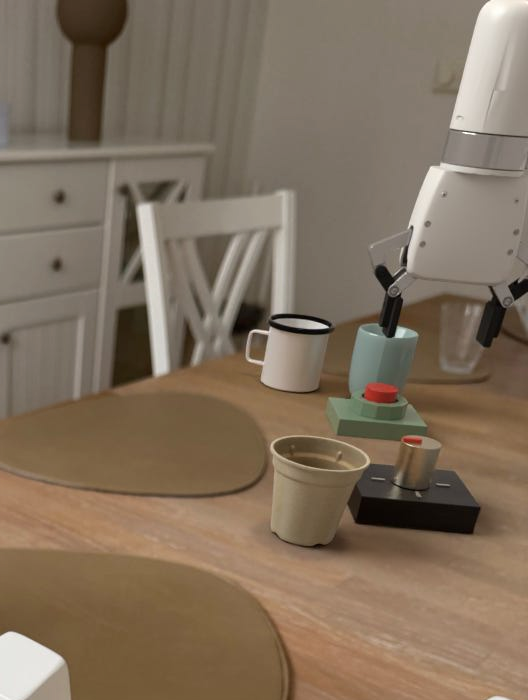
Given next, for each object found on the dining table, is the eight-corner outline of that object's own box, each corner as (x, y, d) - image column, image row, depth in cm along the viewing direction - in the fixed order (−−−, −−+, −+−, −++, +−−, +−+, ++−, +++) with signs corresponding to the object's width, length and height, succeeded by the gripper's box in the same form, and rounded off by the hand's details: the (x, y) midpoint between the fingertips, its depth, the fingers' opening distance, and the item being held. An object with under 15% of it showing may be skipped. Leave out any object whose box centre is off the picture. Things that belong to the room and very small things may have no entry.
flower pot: (338, 517, 102) (357, 438, 97) (360, 558, 94) (382, 474, 89) (248, 511, 102) (263, 431, 97) (262, 551, 94) (279, 466, 89)
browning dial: (424, 477, 105) (437, 434, 103) (434, 491, 102) (446, 447, 99) (387, 473, 105) (398, 430, 103) (395, 488, 102) (407, 444, 99)
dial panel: (447, 496, 109) (455, 469, 107) (472, 534, 100) (481, 505, 99) (339, 486, 110) (345, 459, 108) (355, 523, 101) (362, 494, 99)
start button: (391, 397, 128) (394, 384, 127) (398, 407, 124) (401, 393, 123) (360, 394, 128) (363, 381, 127) (366, 404, 124) (369, 390, 124)
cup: (367, 413, 133) (385, 339, 128) (331, 396, 139) (347, 324, 134) (412, 409, 136) (431, 336, 130) (374, 392, 142) (391, 322, 136)
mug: (330, 384, 144) (344, 321, 139) (309, 399, 137) (323, 333, 132) (254, 367, 149) (264, 306, 144) (230, 381, 142) (240, 317, 137)
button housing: (407, 420, 132) (414, 391, 129) (423, 443, 124) (431, 412, 122) (324, 412, 132) (331, 383, 130) (335, 435, 124) (342, 404, 122)
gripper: (565, 159, 94) (509, 338, 103) (384, 144, 95) (344, 323, 104) (594, 167, 88) (532, 357, 97) (399, 150, 89) (355, 340, 98)
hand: (434, 339), depth 101 cm, fingers open, 9 cm apart
